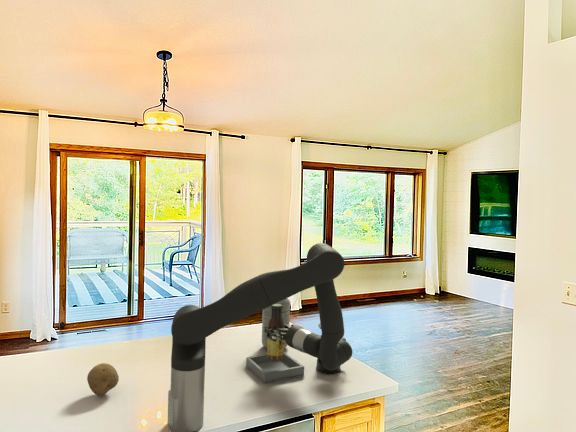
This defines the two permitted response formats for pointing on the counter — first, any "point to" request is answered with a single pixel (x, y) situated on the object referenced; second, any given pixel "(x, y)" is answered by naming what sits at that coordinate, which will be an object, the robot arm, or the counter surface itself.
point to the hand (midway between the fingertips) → (272, 327)
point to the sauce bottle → (277, 347)
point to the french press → (322, 369)
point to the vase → (267, 316)
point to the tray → (274, 368)
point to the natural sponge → (102, 379)
